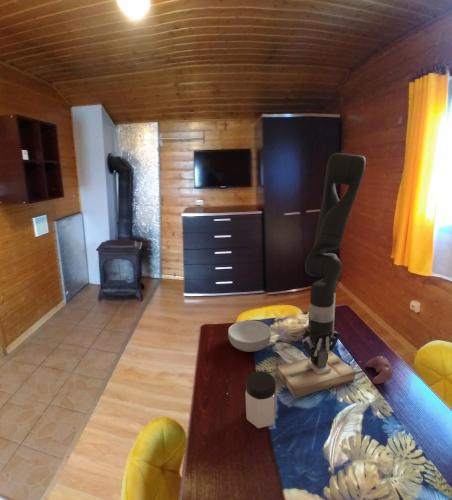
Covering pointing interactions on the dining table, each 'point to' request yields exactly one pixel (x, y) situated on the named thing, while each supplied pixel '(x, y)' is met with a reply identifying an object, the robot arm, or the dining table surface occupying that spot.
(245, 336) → the cereal bowl
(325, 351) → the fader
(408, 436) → the dining table surface
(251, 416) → the jar
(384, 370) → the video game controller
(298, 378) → the tan flat block
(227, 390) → the dining table surface
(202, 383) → the dining table surface
